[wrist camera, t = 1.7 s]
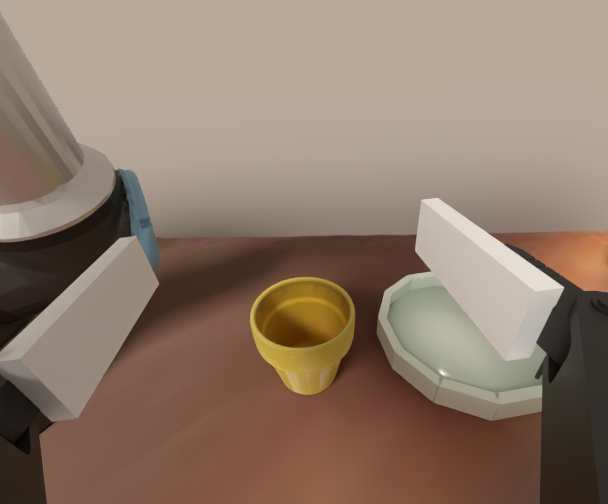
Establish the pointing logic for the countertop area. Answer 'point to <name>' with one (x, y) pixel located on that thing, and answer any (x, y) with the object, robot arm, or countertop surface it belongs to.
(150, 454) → the countertop surface
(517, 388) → the sage basin
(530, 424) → the countertop surface
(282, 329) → the plant pot
